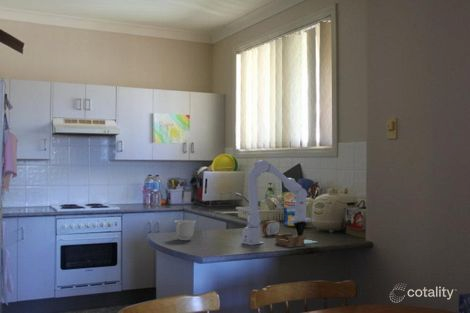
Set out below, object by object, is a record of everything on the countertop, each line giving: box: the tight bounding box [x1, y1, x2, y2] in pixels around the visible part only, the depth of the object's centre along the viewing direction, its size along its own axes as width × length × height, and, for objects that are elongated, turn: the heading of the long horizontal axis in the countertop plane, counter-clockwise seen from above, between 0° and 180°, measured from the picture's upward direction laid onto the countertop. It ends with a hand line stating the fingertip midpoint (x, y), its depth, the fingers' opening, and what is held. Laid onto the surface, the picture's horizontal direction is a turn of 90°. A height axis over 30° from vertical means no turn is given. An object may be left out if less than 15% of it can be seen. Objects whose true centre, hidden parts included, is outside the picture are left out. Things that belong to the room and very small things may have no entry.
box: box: [274, 232, 306, 248], centre depth 266 cm, size 12×10×5 cm
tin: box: [261, 219, 281, 237], centre depth 299 cm, size 15×3×8 cm, turn 141°
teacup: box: [173, 219, 197, 241], centre depth 277 cm, size 12×15×10 cm
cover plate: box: [304, 239, 319, 246], centre depth 273 cm, size 11×8×1 cm
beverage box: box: [283, 191, 296, 227], centre depth 346 cm, size 7×11×22 cm, turn 71°
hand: (300, 236), depth 271 cm, fingers closed
